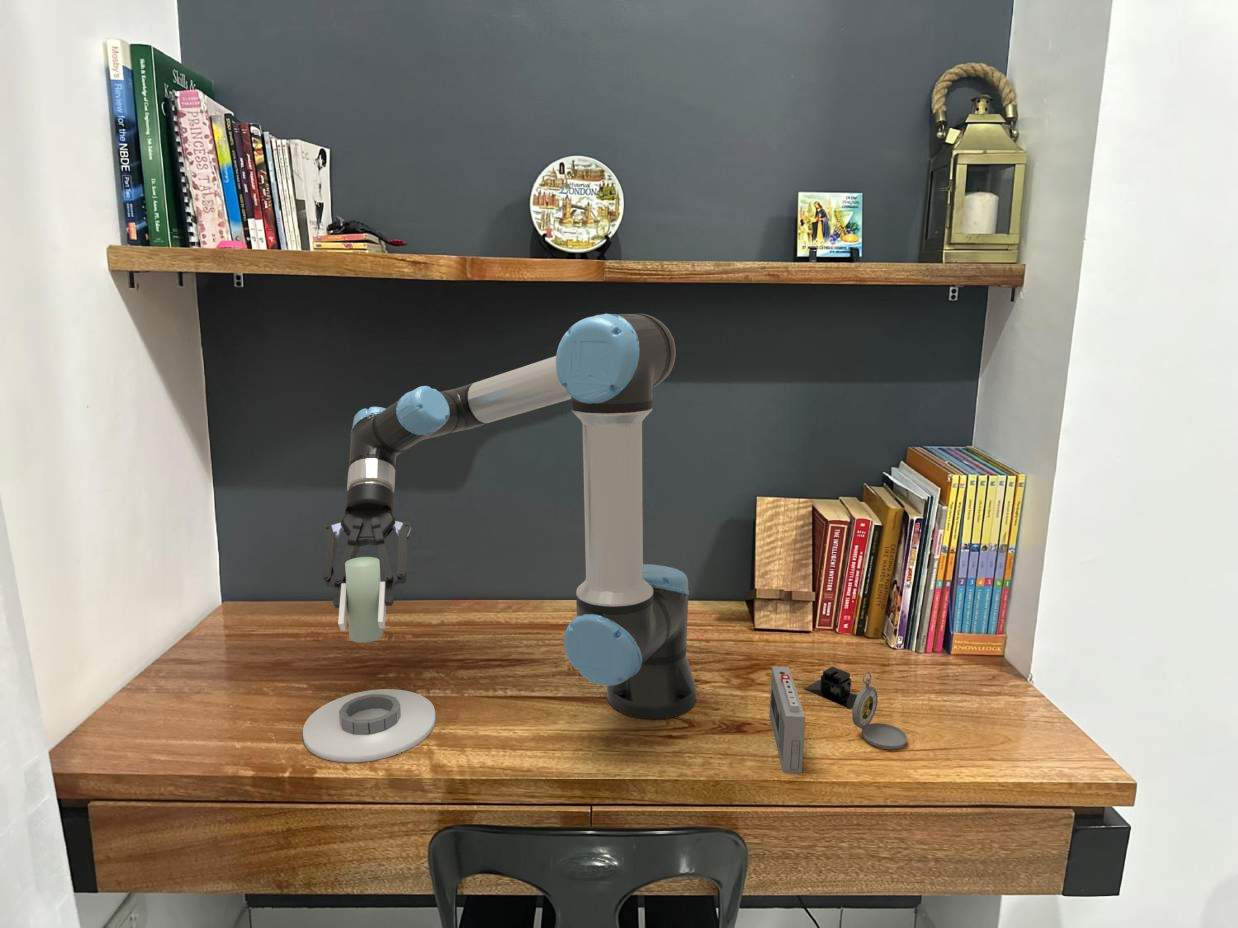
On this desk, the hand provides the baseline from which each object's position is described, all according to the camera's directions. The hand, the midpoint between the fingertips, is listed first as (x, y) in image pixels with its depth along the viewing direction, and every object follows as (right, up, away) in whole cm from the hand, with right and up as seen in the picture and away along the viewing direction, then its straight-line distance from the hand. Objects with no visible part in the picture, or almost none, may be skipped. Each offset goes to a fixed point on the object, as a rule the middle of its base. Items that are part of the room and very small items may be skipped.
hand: (361, 625), depth 119 cm
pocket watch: (+79, -19, +6) cm, 81 cm away
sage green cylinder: (-1, -2, +4) cm, 5 cm away
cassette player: (+64, -19, +4) cm, 67 cm away
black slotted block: (+76, -16, +19) cm, 80 cm away
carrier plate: (-1, -17, +7) cm, 19 cm away
